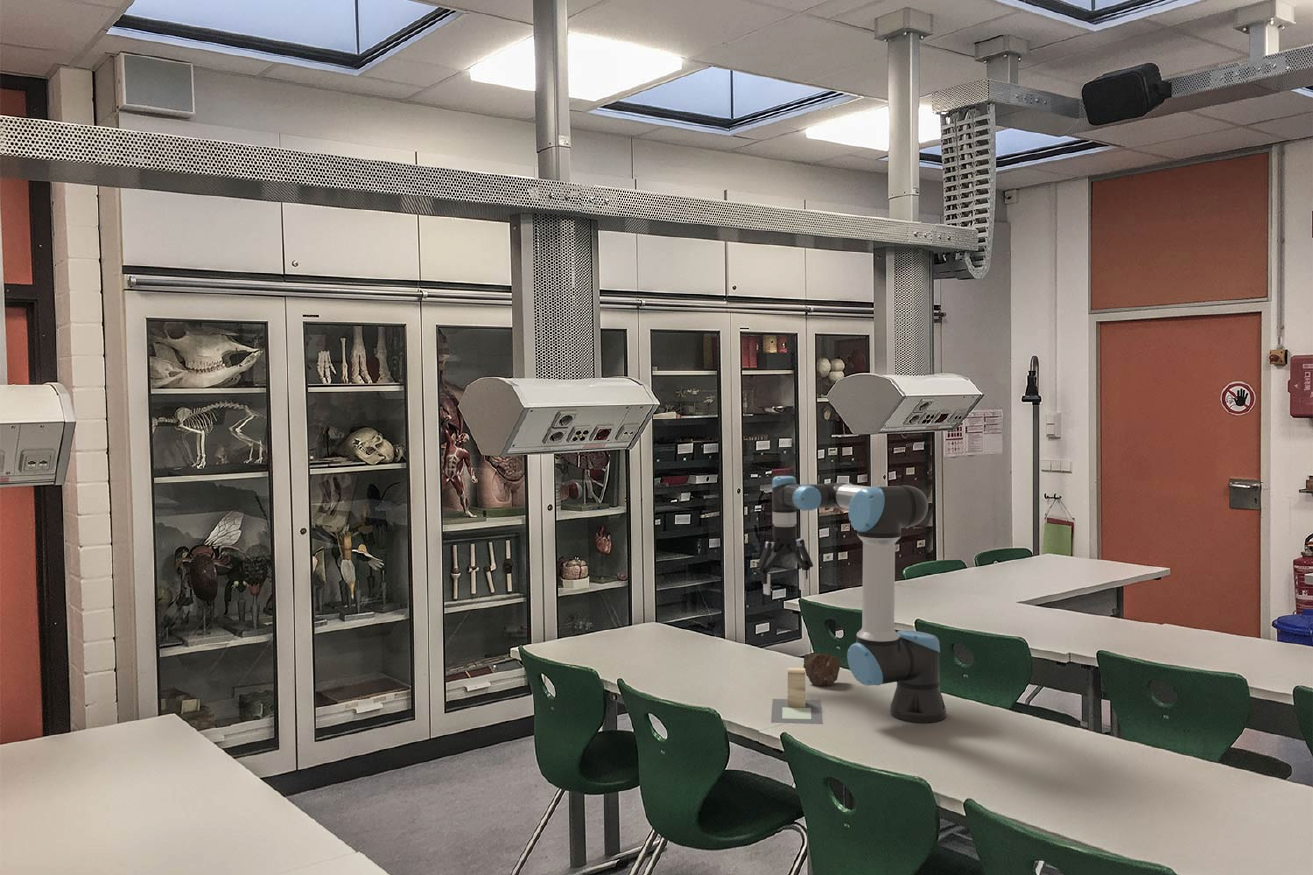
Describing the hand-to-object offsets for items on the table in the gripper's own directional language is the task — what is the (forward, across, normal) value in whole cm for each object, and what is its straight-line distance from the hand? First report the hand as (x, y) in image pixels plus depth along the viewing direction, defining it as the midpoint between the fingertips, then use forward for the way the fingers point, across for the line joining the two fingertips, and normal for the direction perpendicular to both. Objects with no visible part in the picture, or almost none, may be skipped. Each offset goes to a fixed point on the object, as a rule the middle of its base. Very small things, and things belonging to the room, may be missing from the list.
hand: (784, 592), depth 328 cm
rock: (+28, -6, +12) cm, 31 cm away
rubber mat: (+28, +17, +30) cm, 45 cm away
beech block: (+27, +14, +26) cm, 40 cm away
